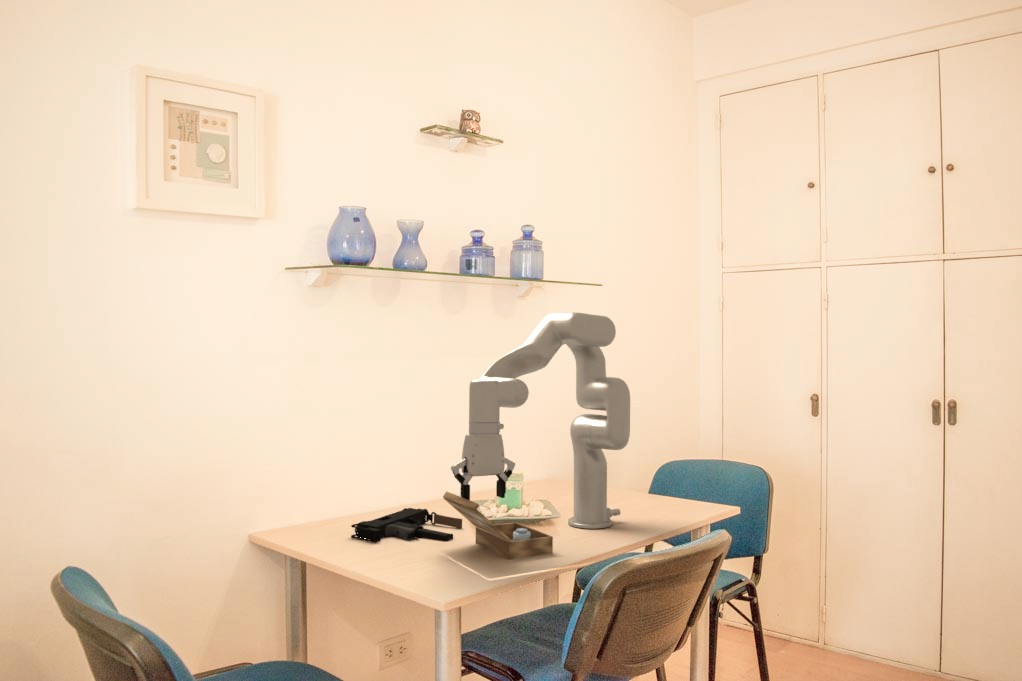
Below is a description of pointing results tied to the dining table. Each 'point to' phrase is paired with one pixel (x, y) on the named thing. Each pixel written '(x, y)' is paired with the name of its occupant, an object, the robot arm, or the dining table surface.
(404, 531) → the submachine gun
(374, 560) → the dining table surface
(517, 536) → the blue jar
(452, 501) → the lid
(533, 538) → the box
